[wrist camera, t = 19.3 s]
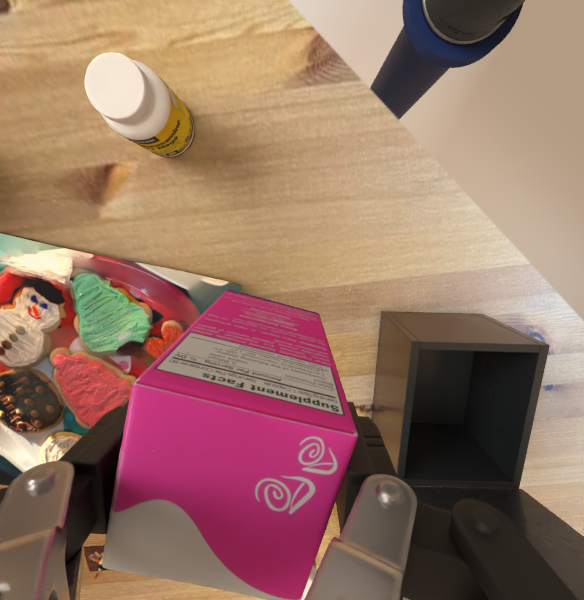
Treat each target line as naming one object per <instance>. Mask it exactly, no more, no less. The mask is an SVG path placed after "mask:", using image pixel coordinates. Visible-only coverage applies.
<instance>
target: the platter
mask: <svg viewBox="0 0 584 600" xmlns="http://www.w3.org/2000/svg"><path fill="white" fill-rule="evenodd" d="M241 287H242V285H240V284H236V283H231V282H227V281H223V280H218V279H214V278H210V277H206V276H201V275H197V274H193V273H188V272H184V271H179V270H174V269H169V268H164V267H159V266H153V265H148V264H142V263H137V262H131V261H125V260H120V259H114V258H109V257H104V256H99V255H94V254H89V253H84V252H80V251H75V250H70V249H66V248H61V247H57V246H53V245H48V244H44V243H40V242H35V241H31V240H27V239H23V238H18V237H14V236H10V235H5V234H1V233H0V484H2V485H8V486H9V485H10V484H11V483H12V481H13V480H14V479H15V478H17V477H18V476H19V475H20V474H22V473H24V472H25V471H27V470H29V469H31V468H33V467H35V466H37V465H40V464H43V463H47V462H52V461H58V460H59V459H60V458H61V457H62V456H63V455H64V454H65V453H66V452H67V451H68V450H69V449H70V448H71V447H72V446H73V445H74V444H75V443H76V442H77V441H78V440H79V439H80V438H81V437H82V436H83V435H84V434H86V433H87V431H88V430H89V429H90V428H91V427H92V426H95V423H96V422H97V421H98V420H99V419H100V418H101V417H102V416H103V415H104V414H106V413H108V412H110V411H111V410H113V409H115V408H117V407H118V406H124V405H125V404H126V402H127V401H128V400H129V399H130V394H131V390H132V387H133V384H134V382H135V381H136V380H137V379H138V378H139V377H140V376H141V375H142V374H143V373H144V372H145V371H146V370H147V369H148V368H149V367H150V366H151V365H152V364H153V363H154V362H155V361H156V360H157V359H158V358H159V357H160V356H161V355H162V354H163V353H164V352H165V351H166V350H167V349H168V348H169V347H170V346H171V345H172V344H173V343H174V342H175V341H176V340H177V339H178V338H179V337H180V336H181V335H182V334H183V333H184V332H185V331H186V330H187V329H188V328H189V327H190V326H191V325H192V324H193V323H194V322H195V321H196V320H197V319H198V318H199V317H200V316H201V315H202V314H203V313H204V312H205V311H206V310H207V309H208V308H209V307H210V306H211V305H212V304H214V303H215V302H216V301H217V300H218V298H219V297H220V296H221V295H222V294H223V293H224V292H225V291H226V290H231V291H235V292H239V293H241Z"/></svg>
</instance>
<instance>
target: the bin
mask: <svg viewBox="0 0 584 600" xmlns="http://www.w3.org/2000/svg"><path fill="white" fill-rule="evenodd" d="M548 350H549V345H548V344H546V343H544V342H541V341H539V340H537V339H535V338H533V337H531V336H529V335H526V334H524V333H522V332H520V331H518V330H516V329H514V328H511V327H509V326H507V325H505V324H503V323H501V322H499V321H496V320H494V319H492V318H490V317H488V316H486V315H484V314H461V313H423V312H384V311H381V320H380V331H379V342H378V354H377V365H376V376H375V387H374V399H373V410H372V421H373V422H374V423H375V424H376V425H377V426H378V429H379V431H380V434H381V436H382V439H383V441H384V444H385V447H386V448H387V451H388V453H389V456H390V458H391V461H392V463H393V466H394V468H395V471H396V473H397V476H398V478H399V479H400V480H402V481H403V482H405V483H406V484H407V485H408V486H423V487H459V488H496V489H519V486H520V481H521V476H522V472H523V467H524V462H525V458H526V453H527V448H528V444H529V439H530V434H531V429H532V425H533V420H534V415H535V411H536V406H537V401H538V397H539V392H540V387H541V383H542V378H543V373H544V368H545V364H546V359H547V354H548Z"/></svg>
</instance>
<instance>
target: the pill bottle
mask: <svg viewBox="0 0 584 600" xmlns="http://www.w3.org/2000/svg"><path fill="white" fill-rule="evenodd" d="M85 89H86V93H87V96H88V98H89V100H90V102H91V103H92V105H93V106H94V107H95V108H96V109H97V110H98V111H99V112H100V113H101V114H102V116H103V118H104V119H105V121H106V122H107V124H108V125H109V126H110V127H111V128H112V129H113V130H114V131H116V132H117V133H118V134H120V135H121V136H123V137H125V138H127V139H129V140H130V141H132V142H134V143H136V144H138V145H140V146H142V147H143V148H145V149H147V150H149V151H151V152H152V153H155V154H157V155H160V156H164V157H173V156H177V155H179V154H181V153H183V152H184V151H185V150H186V149H187V148H188V147H189V146H190V144H191V142H192V139H193V135H194V123H193V119H192V116H191V114H190V112H189V110H188V109H187V107H186V106H185V105H184V104H183V102H182V101H181V100H180V99H179V98H178V97H177V96H176V94H175V93H174V92H173V91H172V90H171V89H170V88H169V86H168V85H167V84H166V83H165V82H164V81H163V79H162V78H161V77H160V76H159V75H158V74H157V73H156V72H155V71H154V70H153V69H151V68H150V67H149V66H147V65H145V64H143V63H141V62H138V61H134V60H131V59H130V58H128V57H127V56H125V55H123V54H120V53H116V52H107V53H103V54H101V55H99V56H97V57H96V58H94V59H93V60H92V62H91V63H90V64H89V66H88V68H87V71H86V75H85Z"/></svg>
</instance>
